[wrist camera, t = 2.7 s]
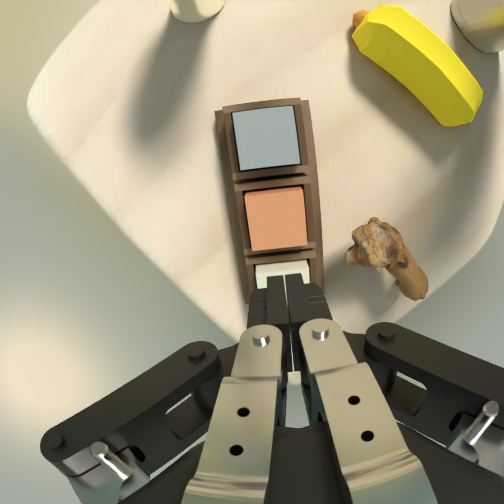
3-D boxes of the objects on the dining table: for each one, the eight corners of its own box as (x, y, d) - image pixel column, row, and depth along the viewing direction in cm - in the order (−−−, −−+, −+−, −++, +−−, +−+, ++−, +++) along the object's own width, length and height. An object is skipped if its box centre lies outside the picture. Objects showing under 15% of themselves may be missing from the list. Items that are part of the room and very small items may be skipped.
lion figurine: (323, 235, 30) (344, 271, 21) (351, 195, 28) (383, 217, 19) (407, 293, 32) (438, 334, 23) (431, 262, 30) (469, 296, 22)
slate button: (289, 110, 22) (292, 105, 19) (296, 161, 24) (300, 163, 21) (235, 116, 22) (232, 112, 20) (243, 167, 24) (240, 170, 22)
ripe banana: (363, 3, 19) (332, 40, 22) (383, -22, 13) (349, 16, 15) (471, 102, 22) (450, 143, 24) (505, 100, 16) (485, 146, 18)
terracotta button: (298, 185, 25) (302, 190, 22) (303, 234, 26) (307, 245, 24) (246, 191, 25) (244, 196, 22) (253, 240, 27) (252, 251, 24)
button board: (306, 102, 24) (313, 94, 20) (321, 289, 32) (328, 310, 28) (217, 112, 25) (208, 107, 21) (246, 297, 33) (243, 319, 29)
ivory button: (305, 256, 27) (308, 268, 24) (307, 297, 29) (310, 312, 26) (256, 261, 28) (255, 273, 25) (262, 302, 29) (261, 317, 27)
